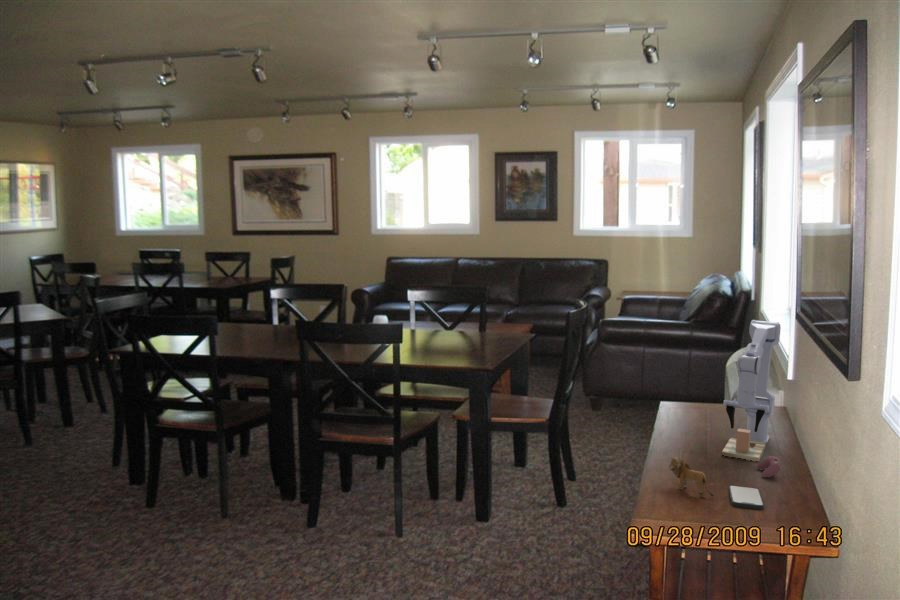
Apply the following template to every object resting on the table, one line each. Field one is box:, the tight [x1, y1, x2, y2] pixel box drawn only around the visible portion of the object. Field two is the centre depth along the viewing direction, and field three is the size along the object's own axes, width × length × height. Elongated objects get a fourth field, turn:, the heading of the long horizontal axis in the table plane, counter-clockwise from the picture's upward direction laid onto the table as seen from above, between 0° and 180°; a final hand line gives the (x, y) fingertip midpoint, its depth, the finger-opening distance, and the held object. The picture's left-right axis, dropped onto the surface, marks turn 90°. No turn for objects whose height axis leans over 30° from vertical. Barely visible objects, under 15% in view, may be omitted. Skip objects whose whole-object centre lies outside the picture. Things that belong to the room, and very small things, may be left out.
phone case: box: [728, 485, 765, 511], centre depth 239 cm, size 9×2×16 cm
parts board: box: [721, 437, 767, 462], centre depth 286 cm, size 20×12×2 cm, turn 153°
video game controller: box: [756, 455, 782, 479], centre depth 262 cm, size 10×5×7 cm, turn 169°
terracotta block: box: [736, 428, 751, 453], centre depth 281 cm, size 4×4×7 cm
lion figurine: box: [668, 456, 715, 498], centre depth 243 cm, size 15×5×9 cm, turn 45°
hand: (744, 429), depth 281 cm, fingers open, 7 cm apart
